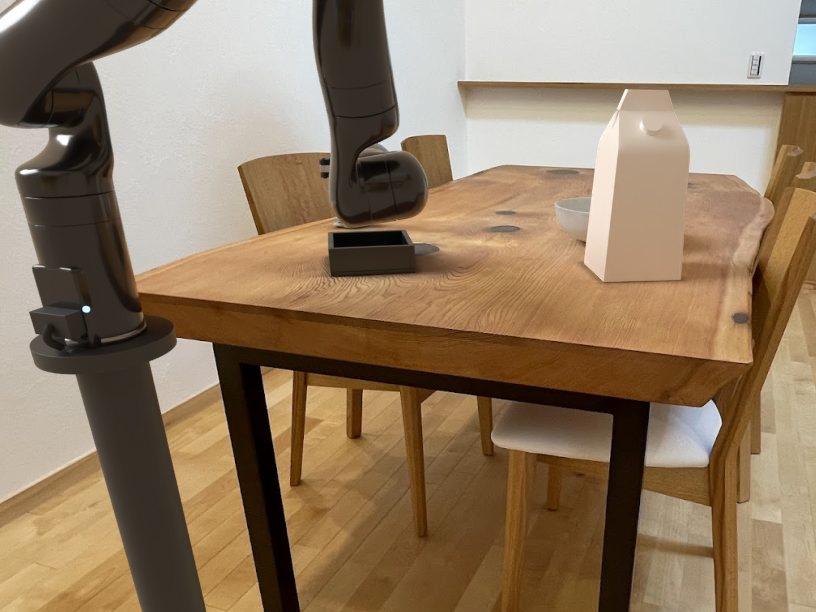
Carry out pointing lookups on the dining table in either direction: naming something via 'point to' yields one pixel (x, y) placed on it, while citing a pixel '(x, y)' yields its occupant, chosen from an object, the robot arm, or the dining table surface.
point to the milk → (639, 192)
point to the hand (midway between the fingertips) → (364, 161)
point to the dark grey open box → (370, 252)
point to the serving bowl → (574, 216)
